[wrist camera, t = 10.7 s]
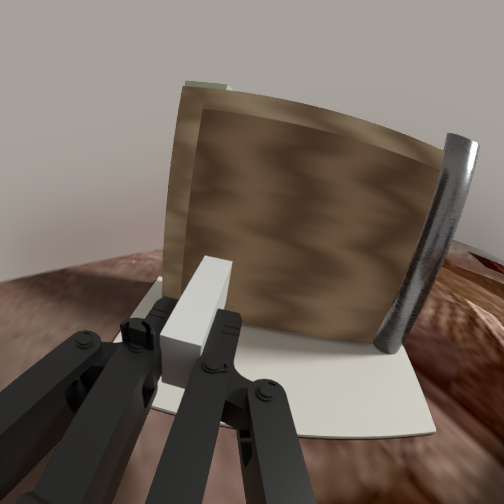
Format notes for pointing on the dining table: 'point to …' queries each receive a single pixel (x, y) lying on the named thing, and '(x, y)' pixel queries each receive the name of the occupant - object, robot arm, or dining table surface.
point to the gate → (295, 210)
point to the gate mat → (322, 382)
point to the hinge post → (430, 242)
